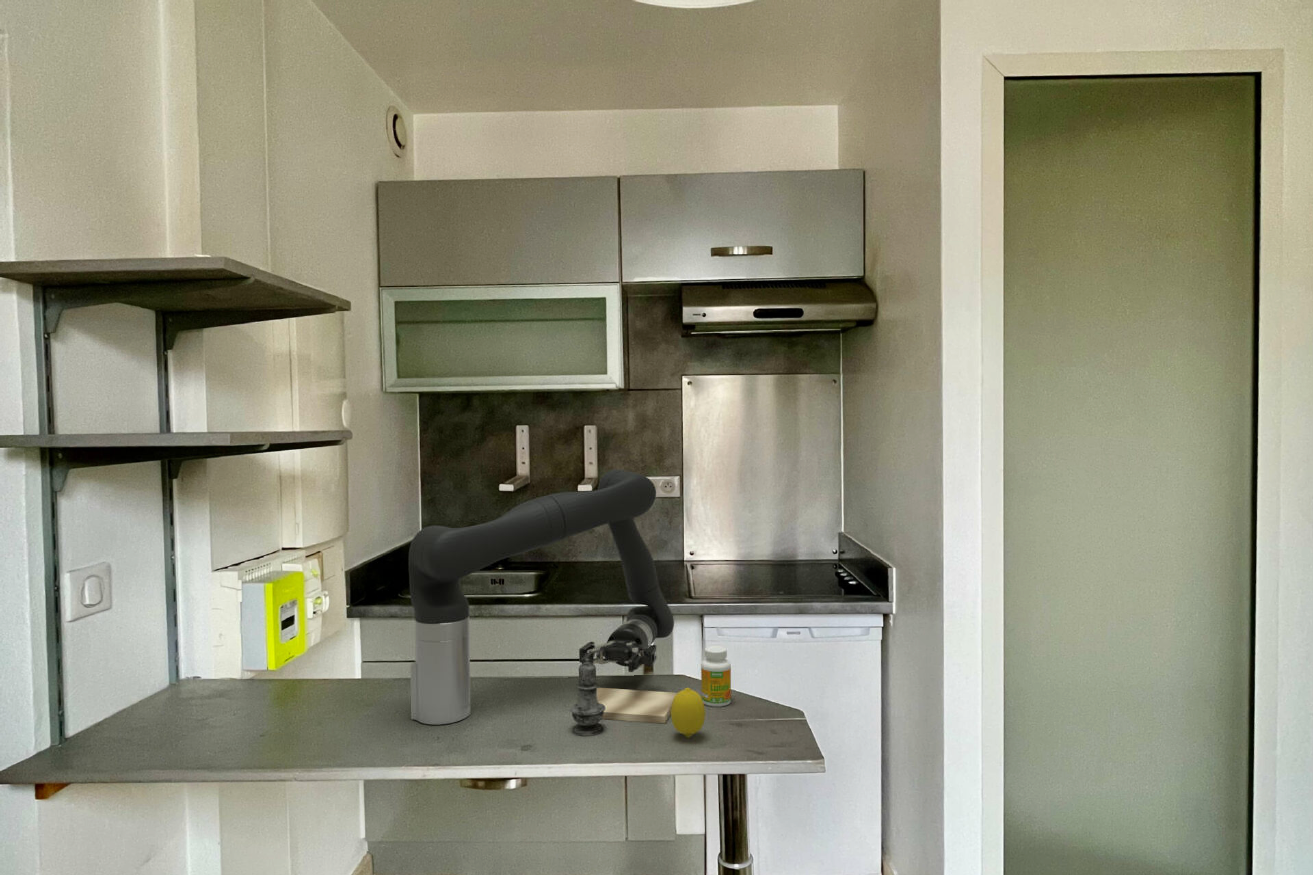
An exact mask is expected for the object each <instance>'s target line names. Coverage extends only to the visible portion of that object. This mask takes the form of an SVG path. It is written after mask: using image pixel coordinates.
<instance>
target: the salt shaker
mask: <svg viewBox="0 0 1313 875" xmlns="http://www.w3.org/2000/svg"><path fill="white" fill-rule="evenodd" d="M585 661H586V662H585V663H583V664H582V663H580V665H579V667H578V683H577V684H576V688H577V689H578V700H577V703H575V704H573V705H572V706H571V707H570V708H569V711H570V713H571V716H572V717H573V720H574V721H575V723H576V724H575V725H574V726H573V727H572V729H571V731H572V733H573V734H575V735H578V736H583V737H584V736H586V737H588V736H595V735H599V734H601V733H602V732H603V731H604V730H605V727H604V726H603V725H602V724H601V723H599V722H600V721H601V720H603V719H602V716H603V714H604V710H605V706H604V705H603V704H601V703H598V700H597V688H599V683H598V682H597V668H596V665H595V664H592V663H590V662H589V659H588V658H586V660H585Z"/></svg>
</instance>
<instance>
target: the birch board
mask: <svg viewBox="0 0 1313 875" xmlns="http://www.w3.org/2000/svg"><path fill="white" fill-rule="evenodd" d="M678 693H679V692H670V691H669V692H667V691H653V690H638V689H622V688H621V689H620V688H610V687H609V688H606V687H597V700H598V703H601V704H603V705H604V706H605V710H604V714H603V716H602V719H601V720H614V721H615V720H616V721H625V722H626V721H627V722H628V721H629V722H639V723H640V722H641V723H654V724H666V722H667V721H668V719H669V717H670V716H671V707H672V702H673V699H674V697H675V696H676V695H677V694H678Z"/></svg>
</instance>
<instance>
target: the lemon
mask: <svg viewBox="0 0 1313 875" xmlns="http://www.w3.org/2000/svg"><path fill="white" fill-rule="evenodd" d="M677 693H678V694H677V695H676V696H675V697H674V699H673V702H672V707H671V714H670V718H671V723H672V725H673V727H674V728H675V729H676V731H677V732H679V733H680V734H683V735H684V736H685V738H691V737H692V736H693V735H694V734H696V733H698V732H699V731H700V730H701V729H702V727H703V726H704V723H705V720H706V708H705V704H704V703H703V700H702V695H700V694H699V693H698V692H697V691H695V690H693V689H691V688H690V687H686V688H684V689H682V690H680V691H678V692H677Z"/></svg>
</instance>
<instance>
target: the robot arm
mask: <svg viewBox="0 0 1313 875" xmlns="http://www.w3.org/2000/svg"><path fill="white" fill-rule="evenodd" d="M597 487H598V488H597V489H596V490H585V491H581V490H580V491H567V492H565V491H564V492H556V493H552V494H547V495H543V496H540V497H537V498H534V499H530V500H528V501H524V502H522V503H520V504H518V505H516V506H514V507H513V508H511V509H510V510H509V511H507V512H506V513H504V514H503V515H501V516H500V517H498V518H496V519H494V520H491V521H487V522H484V523H480V524H476V525H470V526H465V527H455V528H454V527H448V526H443V525H428V526H426V527H424V528H422V529H420V530H419V531H418V532H417V533H416V534H415V535H414V537H413V538H412V540H411V543H410V545H409V550H408V576H409V577H408V578H409V580H408V581H409V596H410V597H409V598H410V601H411V605H412V607H413V610H414V639H415V640H414V642H415V644H414V645H415V646H414V647H415V661H414V662H412V663H411V664H410V720H416V721H417V722H420V723H422V724H425V725H447V724H452V723H456V722H459V721H462V720H464V719H466V718H467V717H469V716H470V715H471V703H472V702H471V660H470V659H471V654H470V653H471V652H470V650H471V649H470V647H471V645H470V642H471V641H470V639H471V638H470V637H471V636H470V603H469V601H468V598H467V597H466V596H465V594H464V593H463V590H462V588H461V587H462V586H461V585H460V580H461V579H463V578H465V577H468V576H470V575H472V574H473V573H476V572H477V571H480V570H482V569H484V568H486V567H488V566H490V565H492V564H494V563H496V562H499V561H501V560H504V559H507V558H510V557H514V556H517V555H522V554H525V553H528V552H530V551H534V550H537V549H540V548H544V547H547V546H549V545H550V546H551V545H552V544H555V543H557V542H561V541H564V540H566V539H568V538H571V537H574V536H576V535H579V534H581V533H582V534H583V533H585V532H587V531H590V530H593V529H595V528H598V527H600V526H604V525H608V526H609V529H610V532H611V534H612V538H613V539H614V542H615V546H616V549H617V552H618V556H619V558H620V561H621V566H622V570H623V577H624V580H625V584H626V590H627V595H628V598H629V599H630V601H632V603H636V604H639V605H643V606H635V607H632V608H630V609H629V610H628V612H627V614H626V619H625V620H626V622H624V623H621V625H620V626H619V627H617V628H616V629H615V630H614V631H613V632H612V633H611V634H610V635H609V637H608V638H607V642H606V643H602V644H597V645H595V644H596V643H595V641H589V642H587V643H586V644H585V645H583V646H581V647H580V648H579V649H578V650H579V651H578V654H579V656H578V663H579V664H583V663H585V662H586V661H585V660H586V658H588V659H589V662H590V663H592V664H594V665H595V664H599V665H605V664H609V663H612V664H616V665H618V666H621V667H628V668H627V669H628V673H634V672H635V671H636V670H638V669H639V668H642V667H643V665H645V666H646V667H648V668H651V667H653V665H654V663H656V661H657V645H655V644H653V643H654V642H655V640H656V639H663V638H667V637H669V636H670V635H671V634H672V632H673V630H674V627H675V622H674V621H675V620H674V616H673V613H672V611H671V608H670V606H669V605H668V603H667V601H666V599H665V597H664V595H663V593H662V590H661V588H660V584H659V580H658V579H659V578H658V574H657V569H656V565H655V561H654V558H653V556H652V554H651V552H650V549H649V547H648V546H647V544H646V543H645V541H644V540H643V538H642V535H641V534H640V532H639V529H638V527H637V525H636V522H635V520H634V519H635V518H638V517H641V516H643V515H645V514H646V513H647V512H648V511H649V510H650V509H651V507H652V506H653V505H654V503H655V500H656V499H657V498H656V496H657V491H656V486H655V484H654V482H653V481H652V480H651V479H650V478H649V477H647V476H645V475H643V474H641V473H638V472H633V471H629V470H624V469H617V468H616V469H613V468H612V469H610V470H608V471H606V472H605V473H604V474H603V475H602V477H601V478H600V480H599V484H598V486H597Z"/></svg>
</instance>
